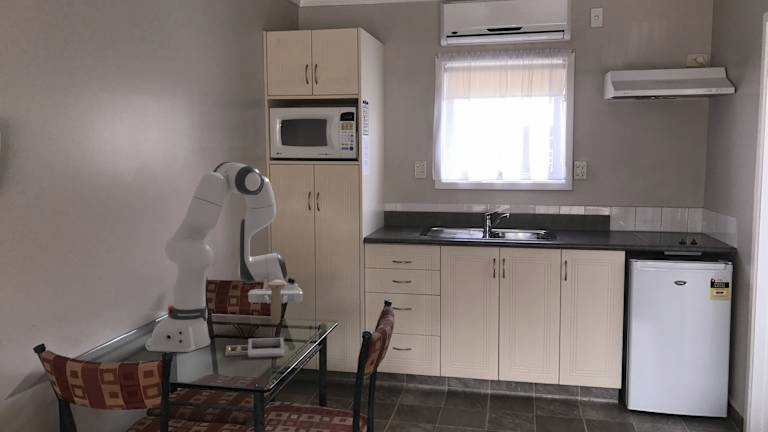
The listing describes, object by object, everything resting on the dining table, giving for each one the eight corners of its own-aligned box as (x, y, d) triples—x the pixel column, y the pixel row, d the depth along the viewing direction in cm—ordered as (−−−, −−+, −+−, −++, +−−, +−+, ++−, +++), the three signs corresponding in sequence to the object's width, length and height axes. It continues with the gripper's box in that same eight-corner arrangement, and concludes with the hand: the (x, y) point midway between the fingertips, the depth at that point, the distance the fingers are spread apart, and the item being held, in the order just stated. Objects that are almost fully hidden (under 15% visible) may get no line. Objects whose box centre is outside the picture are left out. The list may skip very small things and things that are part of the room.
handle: (285, 324, 242) (285, 284, 240) (267, 325, 240) (268, 285, 238) (283, 320, 247) (284, 281, 245) (266, 321, 245) (267, 281, 243)
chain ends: (224, 358, 225) (224, 351, 224) (226, 346, 237) (226, 339, 236) (284, 356, 228) (284, 348, 228) (283, 344, 240) (283, 337, 240)
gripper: (247, 284, 253) (247, 293, 239) (301, 283, 257) (303, 292, 243) (247, 300, 253) (247, 310, 240) (301, 299, 257) (303, 309, 244)
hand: (276, 301), depth 242 cm, fingers closed on handle, 4 cm apart
